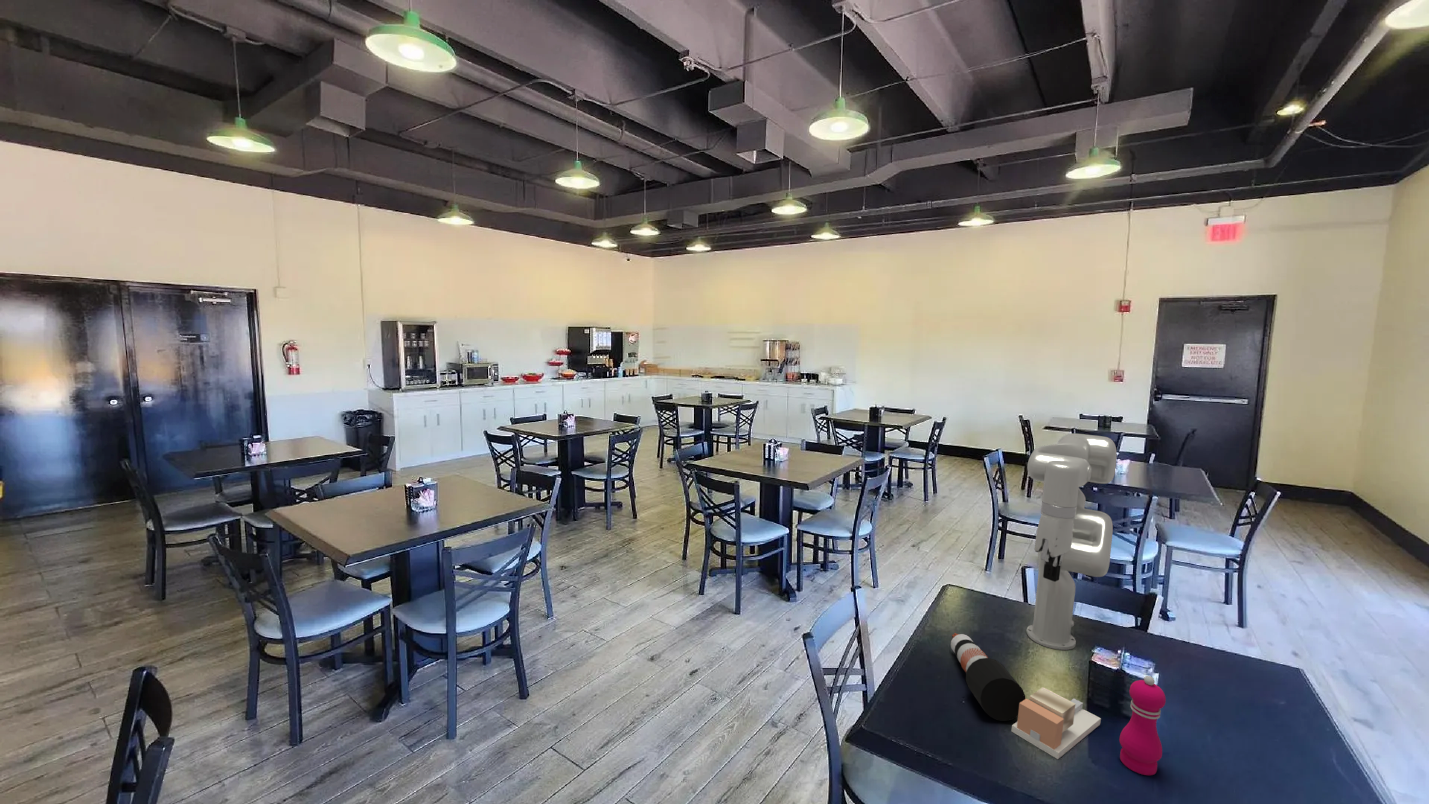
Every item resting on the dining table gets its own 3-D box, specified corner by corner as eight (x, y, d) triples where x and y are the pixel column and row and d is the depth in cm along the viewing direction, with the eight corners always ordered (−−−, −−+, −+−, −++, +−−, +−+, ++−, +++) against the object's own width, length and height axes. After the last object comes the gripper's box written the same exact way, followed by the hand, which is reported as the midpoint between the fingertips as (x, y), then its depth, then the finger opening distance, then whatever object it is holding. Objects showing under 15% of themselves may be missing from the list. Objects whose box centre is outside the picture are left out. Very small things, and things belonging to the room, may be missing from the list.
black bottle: (962, 660, 166) (980, 631, 165) (1011, 729, 133) (1034, 692, 132) (931, 642, 167) (949, 612, 166) (972, 706, 133) (994, 669, 133)
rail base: (1055, 700, 142) (1058, 672, 141) (1100, 724, 133) (1103, 694, 132) (1011, 731, 130) (1014, 700, 129) (1057, 759, 122) (1061, 727, 121)
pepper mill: (1108, 752, 125) (1119, 666, 122) (1139, 751, 125) (1151, 665, 123) (1135, 778, 117) (1147, 688, 115) (1168, 777, 118) (1181, 687, 115)
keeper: (1040, 706, 134) (1043, 687, 133) (1073, 724, 128) (1075, 703, 128) (1027, 716, 131) (1029, 696, 130) (1059, 734, 125) (1062, 713, 124)
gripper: (1057, 501, 152) (1050, 567, 155) (1027, 510, 144) (1020, 580, 146) (1088, 509, 146) (1080, 578, 149) (1059, 519, 138) (1051, 592, 140)
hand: (1050, 578), depth 148 cm, fingers closed
